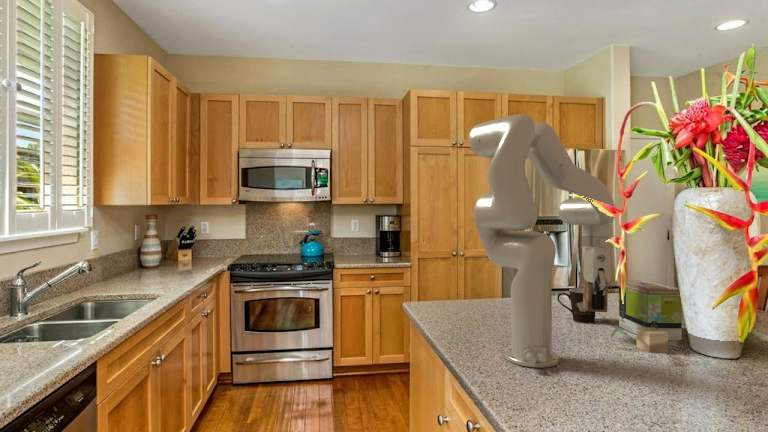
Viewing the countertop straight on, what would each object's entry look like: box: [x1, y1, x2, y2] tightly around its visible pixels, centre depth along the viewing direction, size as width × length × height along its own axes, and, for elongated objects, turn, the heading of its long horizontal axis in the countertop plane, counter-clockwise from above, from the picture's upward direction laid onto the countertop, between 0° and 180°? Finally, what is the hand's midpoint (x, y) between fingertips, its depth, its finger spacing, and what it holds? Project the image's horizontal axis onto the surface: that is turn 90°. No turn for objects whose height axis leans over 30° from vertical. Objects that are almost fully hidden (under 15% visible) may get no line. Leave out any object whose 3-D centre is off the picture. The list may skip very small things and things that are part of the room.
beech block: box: [635, 327, 669, 354], centre depth 110 cm, size 5×5×5 cm
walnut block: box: [583, 283, 609, 313], centre depth 119 cm, size 5×5×7 cm
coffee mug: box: [556, 287, 597, 324], centre depth 139 cm, size 12×9×10 cm
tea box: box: [618, 280, 683, 342], centre depth 123 cm, size 15×10×15 cm, turn 179°
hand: (594, 306), depth 119 cm, fingers closed on walnut block, 5 cm apart
